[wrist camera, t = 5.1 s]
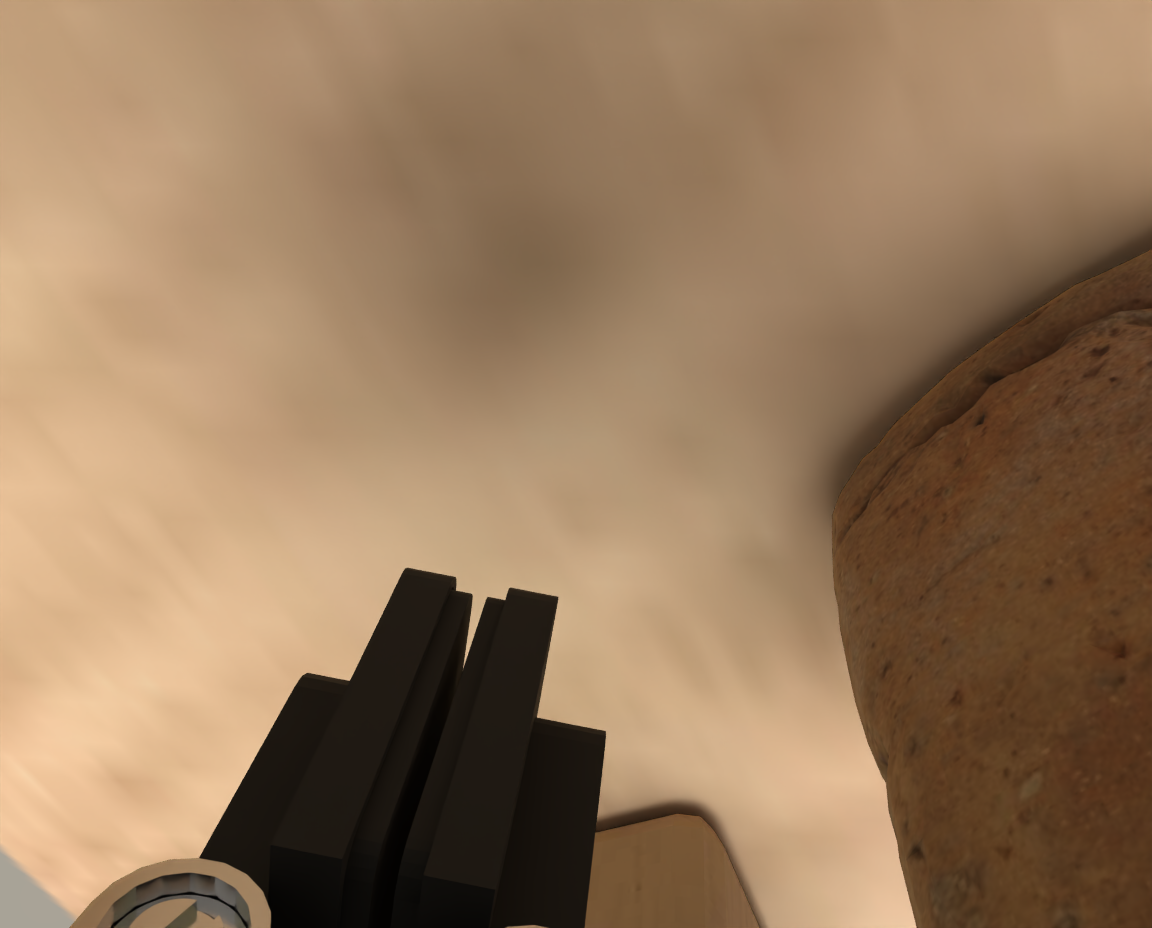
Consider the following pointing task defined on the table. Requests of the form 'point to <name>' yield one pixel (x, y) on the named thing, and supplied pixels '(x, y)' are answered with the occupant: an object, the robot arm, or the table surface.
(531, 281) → the table surface
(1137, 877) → the brown rounded lump
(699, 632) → the table surface
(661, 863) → the wooden block
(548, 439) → the table surface
